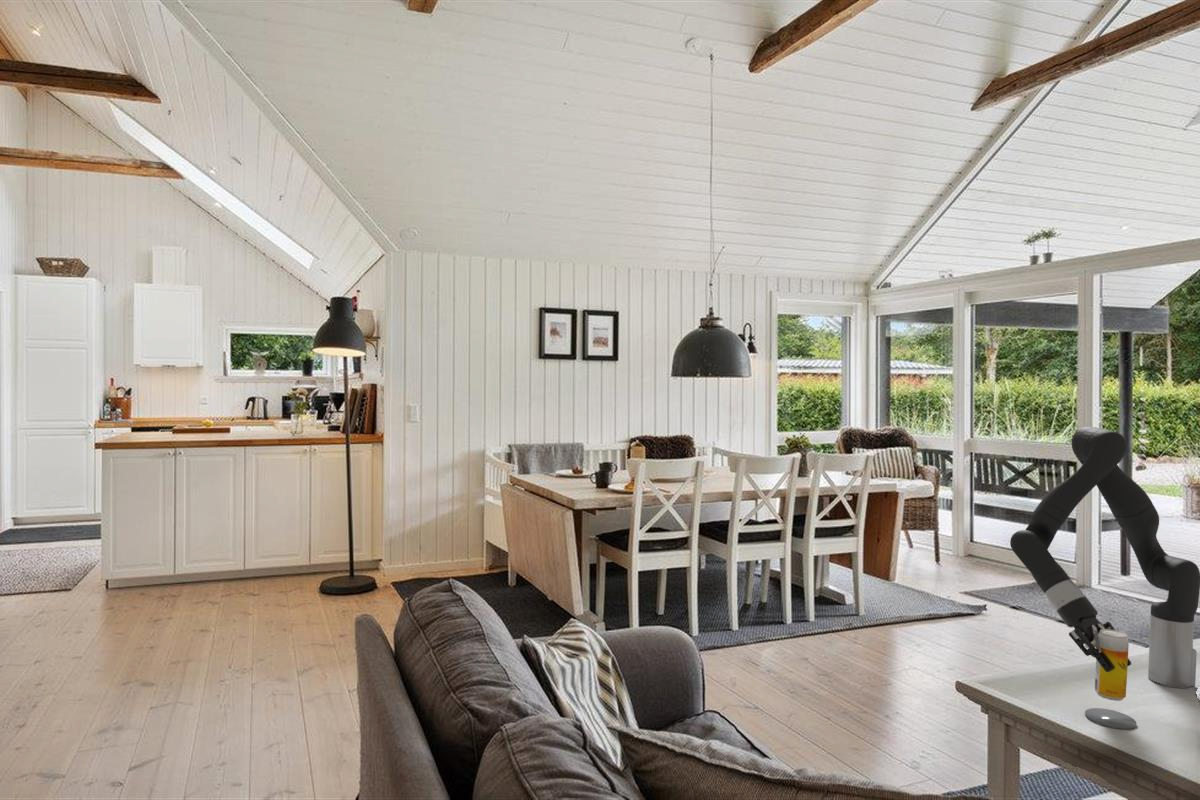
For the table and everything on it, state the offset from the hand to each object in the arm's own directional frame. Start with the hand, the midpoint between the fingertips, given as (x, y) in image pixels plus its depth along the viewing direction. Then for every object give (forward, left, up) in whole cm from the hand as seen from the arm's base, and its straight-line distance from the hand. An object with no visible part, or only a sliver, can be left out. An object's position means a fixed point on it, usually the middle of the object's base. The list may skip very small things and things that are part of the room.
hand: (1119, 667), depth 176 cm
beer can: (+1, -1, -7) cm, 8 cm away
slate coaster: (+1, -1, -13) cm, 13 cm away
